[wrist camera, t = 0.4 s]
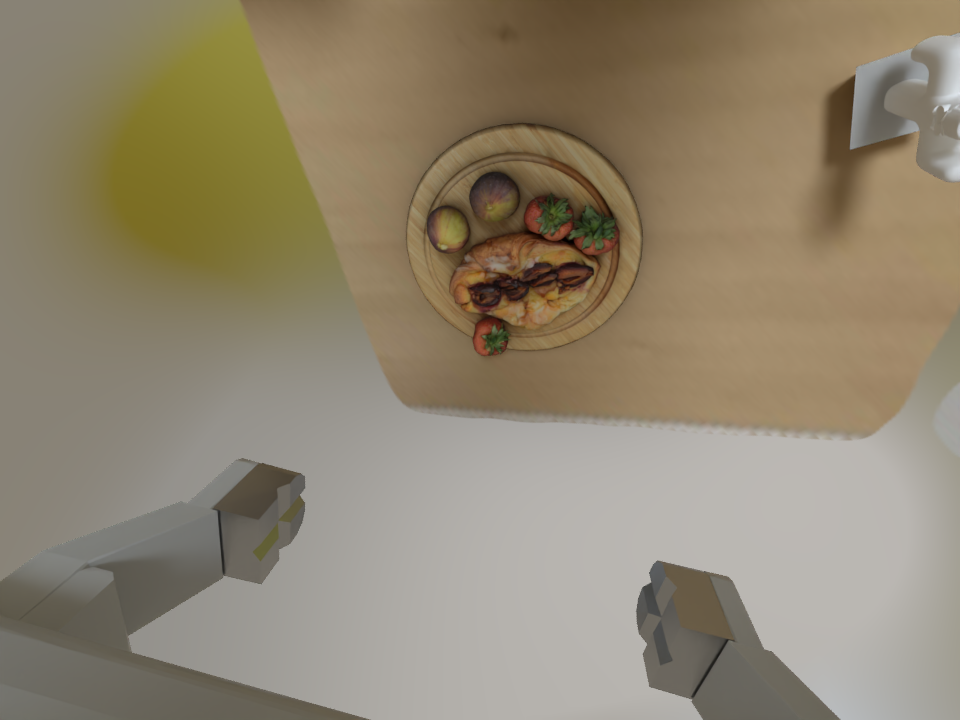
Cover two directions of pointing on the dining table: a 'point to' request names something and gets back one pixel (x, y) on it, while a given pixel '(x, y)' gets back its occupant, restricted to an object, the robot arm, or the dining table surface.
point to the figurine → (913, 103)
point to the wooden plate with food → (524, 237)
